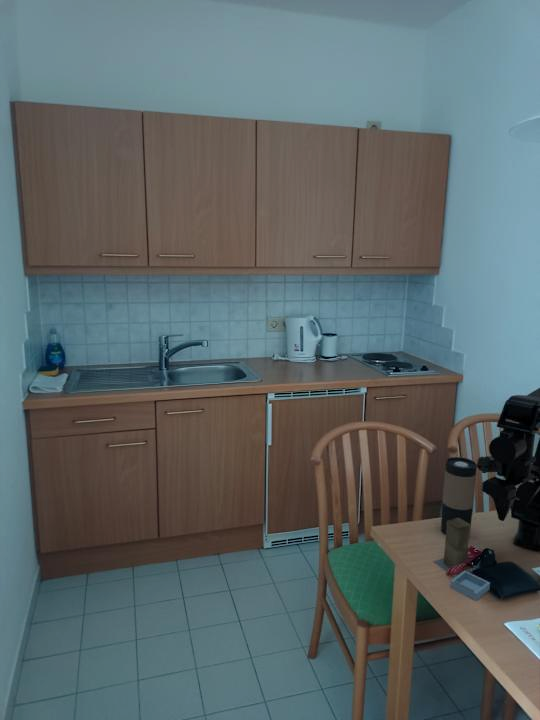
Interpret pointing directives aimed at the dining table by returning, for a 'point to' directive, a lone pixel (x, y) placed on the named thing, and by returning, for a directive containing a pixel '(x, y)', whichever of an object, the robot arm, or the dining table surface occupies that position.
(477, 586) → the socket block
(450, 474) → the travel mug
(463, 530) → the olive tall block
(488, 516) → the dining table surface
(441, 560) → the mat
